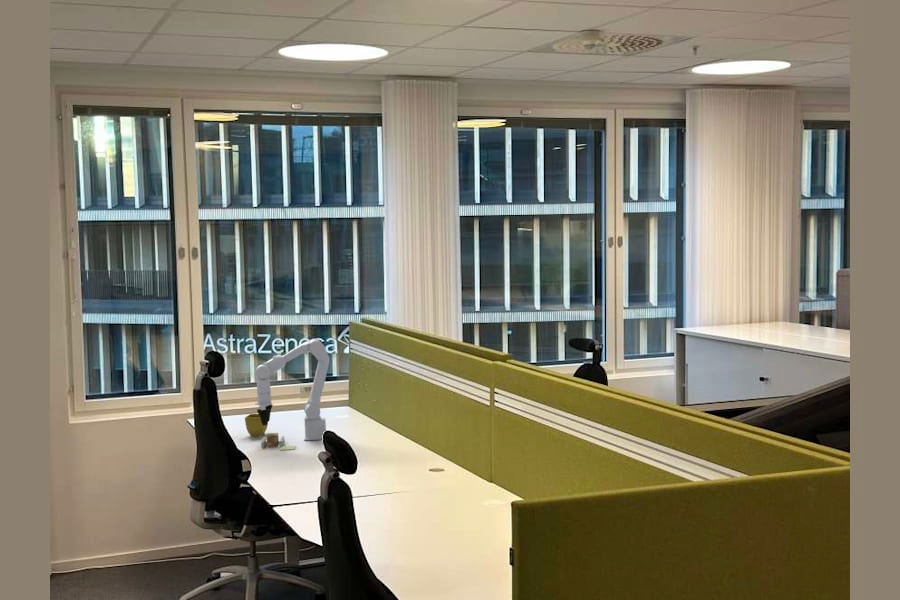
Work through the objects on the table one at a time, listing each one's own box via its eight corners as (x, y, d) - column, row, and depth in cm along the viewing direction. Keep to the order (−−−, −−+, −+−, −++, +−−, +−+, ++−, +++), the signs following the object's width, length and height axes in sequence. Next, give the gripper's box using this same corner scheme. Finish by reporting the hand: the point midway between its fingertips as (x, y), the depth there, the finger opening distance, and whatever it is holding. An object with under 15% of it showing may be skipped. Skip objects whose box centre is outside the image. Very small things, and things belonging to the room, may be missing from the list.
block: (278, 444, 401) (278, 432, 400) (277, 446, 396) (277, 435, 396) (268, 444, 400) (267, 433, 400) (267, 447, 396) (266, 435, 396)
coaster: (295, 446, 395) (295, 445, 395) (294, 449, 389) (294, 448, 389) (281, 447, 394) (281, 446, 394) (280, 450, 388) (280, 449, 388)
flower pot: (269, 432, 424) (268, 413, 424) (264, 437, 416) (263, 417, 415) (251, 432, 425) (250, 413, 424) (245, 437, 417) (244, 417, 416)
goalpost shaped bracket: (284, 441, 405) (284, 436, 405) (282, 446, 395) (282, 441, 395) (263, 442, 404) (263, 437, 404) (261, 448, 394) (261, 442, 394)
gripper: (256, 390, 409) (258, 420, 410) (252, 396, 395) (254, 427, 396) (272, 389, 410) (274, 419, 411) (269, 395, 395) (271, 426, 396)
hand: (265, 423), depth 403 cm, fingers open, 7 cm apart
